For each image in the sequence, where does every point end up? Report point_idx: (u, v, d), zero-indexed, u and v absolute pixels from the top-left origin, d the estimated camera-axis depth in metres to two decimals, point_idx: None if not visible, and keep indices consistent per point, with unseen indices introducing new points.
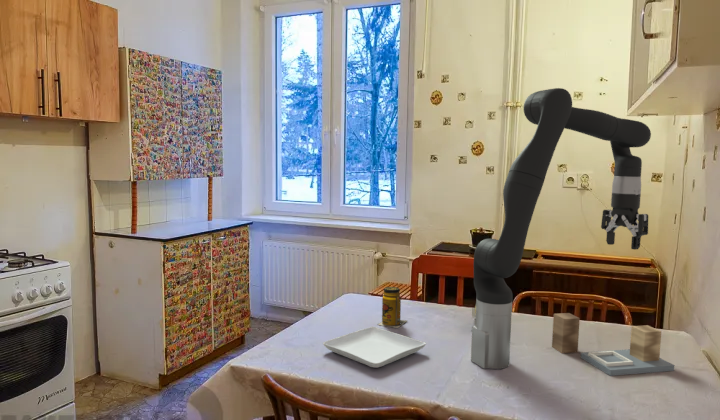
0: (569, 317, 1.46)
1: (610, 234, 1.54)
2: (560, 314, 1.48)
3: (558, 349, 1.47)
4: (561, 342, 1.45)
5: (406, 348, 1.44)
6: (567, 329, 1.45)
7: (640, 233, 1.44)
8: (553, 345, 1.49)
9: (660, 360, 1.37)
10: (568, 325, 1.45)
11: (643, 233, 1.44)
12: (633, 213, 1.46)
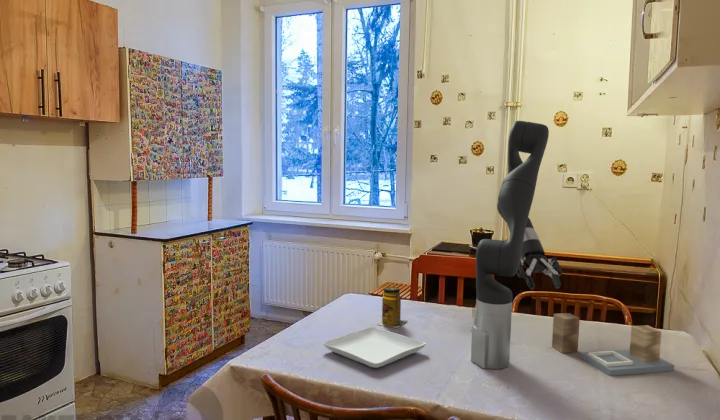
0: (569, 317, 1.46)
1: None
2: (560, 314, 1.48)
3: (558, 349, 1.47)
4: (561, 342, 1.45)
5: (406, 348, 1.44)
6: (567, 329, 1.45)
7: (561, 270, 1.61)
8: (553, 345, 1.49)
9: (660, 360, 1.37)
10: (568, 325, 1.45)
11: None
12: (546, 258, 1.64)
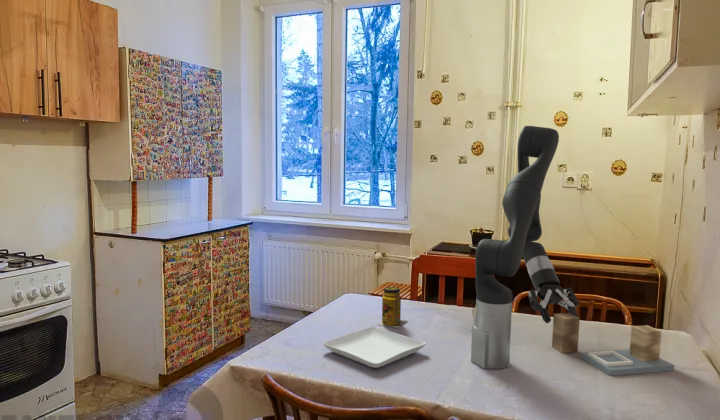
0: (569, 317, 1.46)
1: None
2: (560, 314, 1.48)
3: (558, 349, 1.47)
4: (561, 342, 1.45)
5: (406, 348, 1.44)
6: (567, 329, 1.45)
7: (578, 302, 1.53)
8: (553, 345, 1.49)
9: (660, 360, 1.37)
10: (568, 325, 1.45)
11: None
12: (561, 288, 1.56)
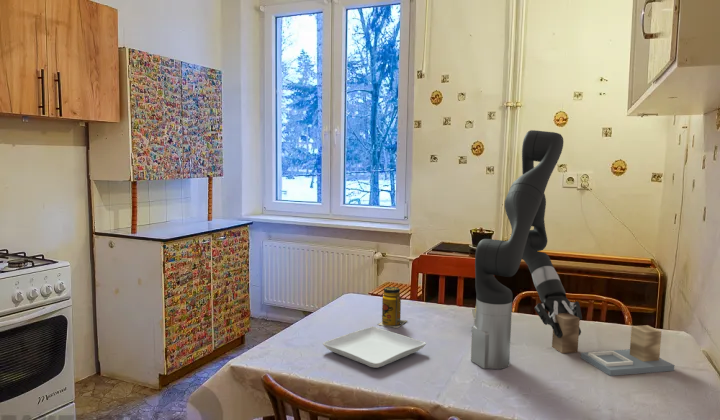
0: (569, 317, 1.46)
1: None
2: (560, 314, 1.48)
3: (558, 349, 1.47)
4: (561, 342, 1.45)
5: (406, 348, 1.44)
6: (567, 329, 1.45)
7: (581, 317, 1.49)
8: (553, 345, 1.49)
9: (660, 360, 1.37)
10: (568, 325, 1.45)
11: None
12: (568, 300, 1.53)
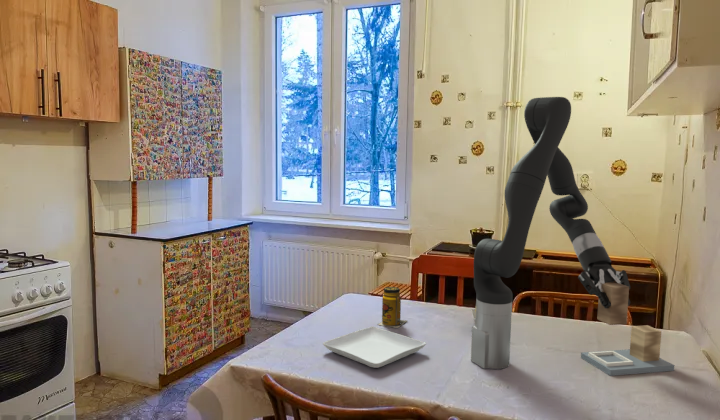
0: (617, 285, 1.34)
1: None
2: (607, 283, 1.36)
3: (605, 321, 1.35)
4: (609, 313, 1.33)
5: (406, 348, 1.45)
6: (616, 298, 1.33)
7: (629, 286, 1.37)
8: (599, 317, 1.37)
9: (660, 360, 1.37)
10: (617, 294, 1.33)
11: None
12: (614, 269, 1.41)
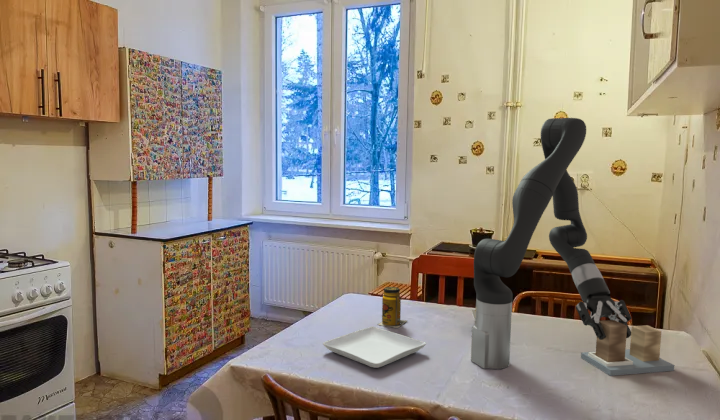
0: (615, 324, 1.35)
1: None
2: (605, 321, 1.37)
3: (603, 359, 1.36)
4: (607, 352, 1.34)
5: (406, 348, 1.45)
6: (613, 337, 1.34)
7: (630, 317, 1.38)
8: (597, 355, 1.38)
9: (660, 360, 1.37)
10: (615, 334, 1.33)
11: None
12: (612, 300, 1.41)
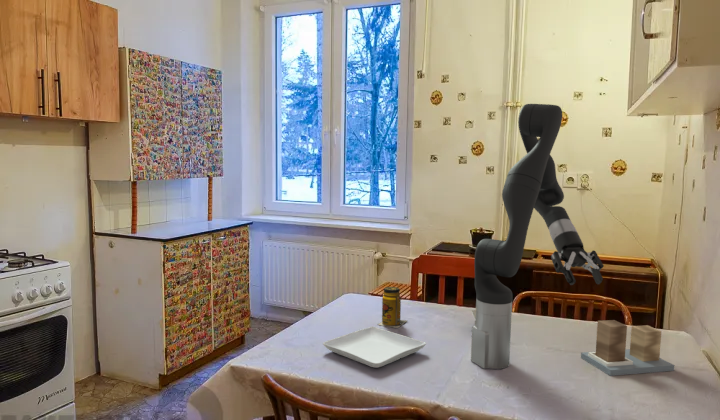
0: (615, 324, 1.35)
1: None
2: (605, 321, 1.37)
3: (603, 359, 1.36)
4: (607, 352, 1.34)
5: (406, 348, 1.45)
6: (613, 337, 1.34)
7: (602, 265, 1.50)
8: (597, 355, 1.38)
9: (660, 360, 1.37)
10: (615, 334, 1.33)
11: None
12: (585, 251, 1.53)
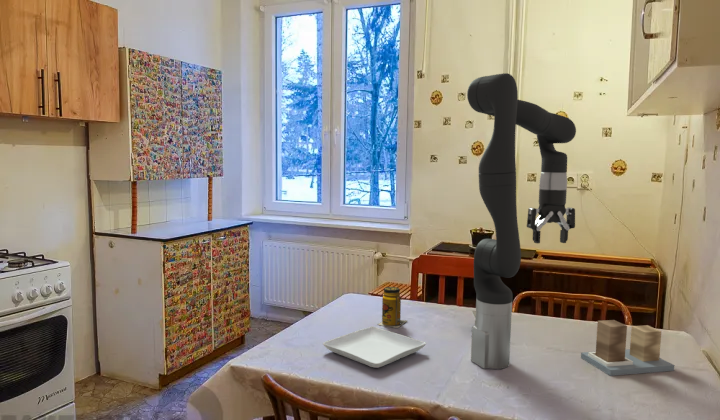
0: (615, 324, 1.35)
1: None
2: (605, 321, 1.37)
3: (603, 359, 1.36)
4: (607, 352, 1.34)
5: (406, 348, 1.45)
6: (613, 337, 1.34)
7: (574, 226, 1.51)
8: (597, 355, 1.38)
9: (660, 360, 1.37)
10: (615, 334, 1.33)
11: None
12: (565, 208, 1.50)
